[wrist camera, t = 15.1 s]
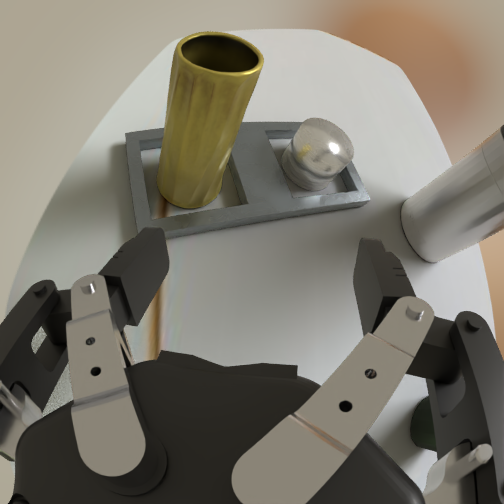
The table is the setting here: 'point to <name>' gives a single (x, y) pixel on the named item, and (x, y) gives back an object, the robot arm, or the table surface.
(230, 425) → the robot arm
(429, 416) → the potion bottle
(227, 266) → the table surface
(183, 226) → the grey rectangular frame
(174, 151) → the vase
